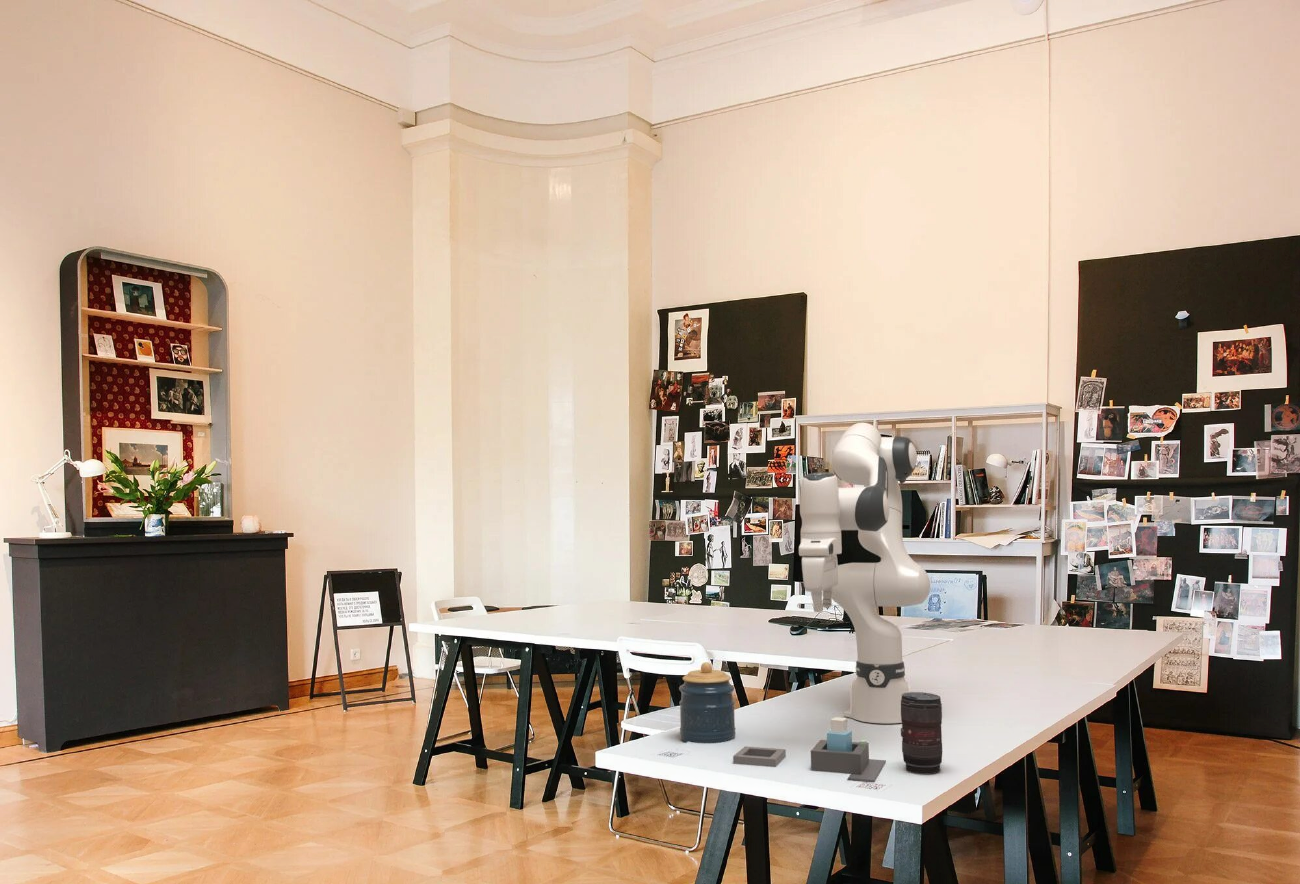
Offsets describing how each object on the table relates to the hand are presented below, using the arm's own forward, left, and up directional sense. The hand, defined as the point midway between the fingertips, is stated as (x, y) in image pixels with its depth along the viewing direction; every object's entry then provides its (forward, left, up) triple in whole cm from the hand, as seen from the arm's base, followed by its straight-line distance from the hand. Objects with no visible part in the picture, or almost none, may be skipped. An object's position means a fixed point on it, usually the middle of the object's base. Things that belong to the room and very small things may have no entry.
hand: (822, 609), depth 218 cm
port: (+11, +5, -31) cm, 33 cm away
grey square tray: (+11, -12, -31) cm, 35 cm away
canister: (-6, -29, -31) cm, 43 cm away
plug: (+11, +5, -31) cm, 33 cm away
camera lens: (+7, +21, -31) cm, 38 cm away
